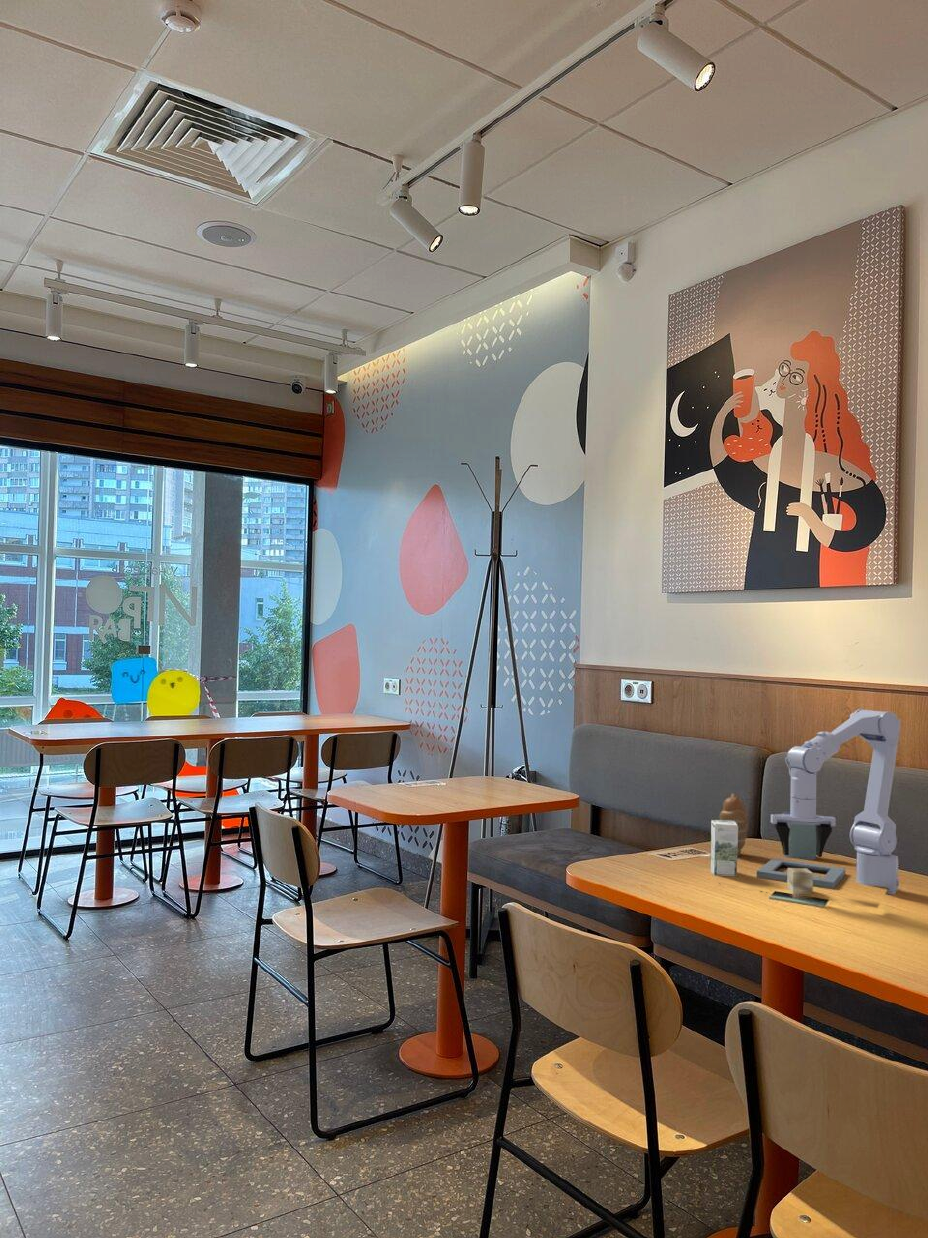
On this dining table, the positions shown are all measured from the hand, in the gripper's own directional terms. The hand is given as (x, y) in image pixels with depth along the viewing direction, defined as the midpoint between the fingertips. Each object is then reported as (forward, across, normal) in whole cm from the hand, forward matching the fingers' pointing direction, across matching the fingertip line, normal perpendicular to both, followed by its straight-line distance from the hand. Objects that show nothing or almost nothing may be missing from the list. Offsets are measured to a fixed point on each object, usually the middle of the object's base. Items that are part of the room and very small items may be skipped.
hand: (802, 855), depth 215 cm
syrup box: (+10, +15, -14) cm, 23 cm away
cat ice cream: (+10, +8, -37) cm, 40 cm away
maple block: (+9, +1, +1) cm, 9 cm away
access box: (+10, -4, -15) cm, 19 cm away
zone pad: (+10, +1, +1) cm, 10 cm away
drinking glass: (+10, -12, -45) cm, 48 cm away
